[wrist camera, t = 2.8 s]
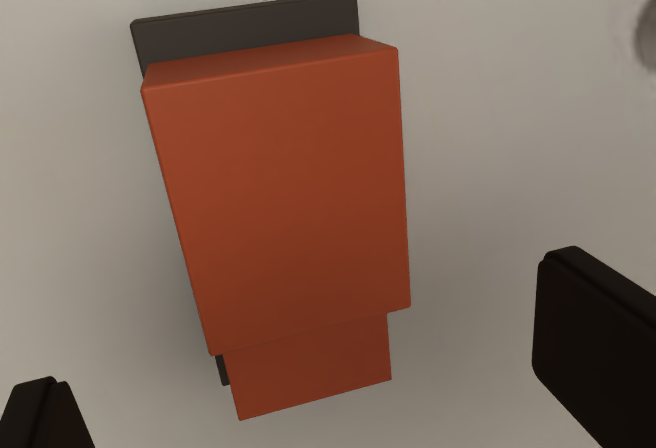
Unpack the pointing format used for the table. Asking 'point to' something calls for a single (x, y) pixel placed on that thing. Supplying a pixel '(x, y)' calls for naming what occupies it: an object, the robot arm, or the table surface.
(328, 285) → the shoe
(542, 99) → the table surface
